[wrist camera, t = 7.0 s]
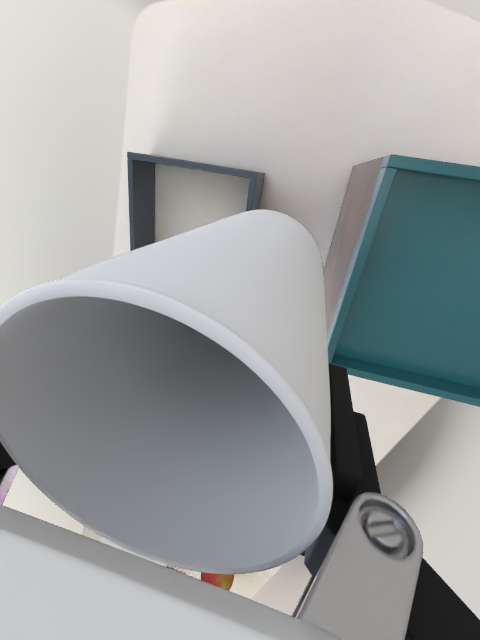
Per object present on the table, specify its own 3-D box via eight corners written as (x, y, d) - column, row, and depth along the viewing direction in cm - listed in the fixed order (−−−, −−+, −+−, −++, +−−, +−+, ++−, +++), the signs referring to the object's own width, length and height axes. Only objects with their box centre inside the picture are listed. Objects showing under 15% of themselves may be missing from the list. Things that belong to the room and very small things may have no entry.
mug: (223, 180, 14) (-58, 198, 4) (354, 234, 14) (441, 420, 3) (178, 341, 19) (2, 541, 9) (273, 385, 19) (206, 649, 8)
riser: (353, 165, 32) (383, 156, 17) (497, 187, 30) (662, 196, 16) (318, 288, 38) (320, 354, 24) (434, 313, 36) (510, 399, 22)
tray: (383, 156, 17) (391, 154, 16) (662, 196, 16) (706, 198, 14) (320, 354, 24) (320, 368, 22) (510, 399, 22) (528, 418, 20)
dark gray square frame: (150, 155, 36) (127, 151, 31) (264, 173, 34) (257, 172, 29) (150, 267, 42) (131, 278, 38) (246, 288, 40) (238, 301, 36)
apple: (201, 551, 72) (189, 591, 65) (218, 540, 69) (206, 581, 62) (226, 567, 73) (217, 608, 66) (244, 557, 69) (236, 600, 62)
